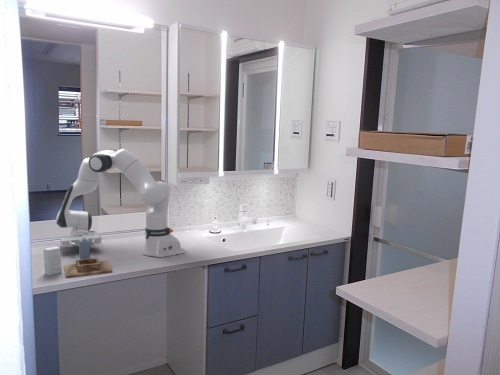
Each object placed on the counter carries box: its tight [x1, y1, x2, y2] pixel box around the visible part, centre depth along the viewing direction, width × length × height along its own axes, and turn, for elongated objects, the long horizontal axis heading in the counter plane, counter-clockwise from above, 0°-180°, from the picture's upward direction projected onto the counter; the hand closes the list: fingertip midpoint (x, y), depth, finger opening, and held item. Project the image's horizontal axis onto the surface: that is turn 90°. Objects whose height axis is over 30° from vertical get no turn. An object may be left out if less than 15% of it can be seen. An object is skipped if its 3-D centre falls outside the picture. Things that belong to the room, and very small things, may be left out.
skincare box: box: [43, 245, 62, 277], centre depth 190 cm, size 6×4×12 cm
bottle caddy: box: [63, 257, 113, 279], centre depth 197 cm, size 20×16×4 cm
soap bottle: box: [78, 236, 91, 259], centre depth 208 cm, size 4×4×13 cm
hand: (82, 244), depth 217 cm, fingers open, 8 cm apart
